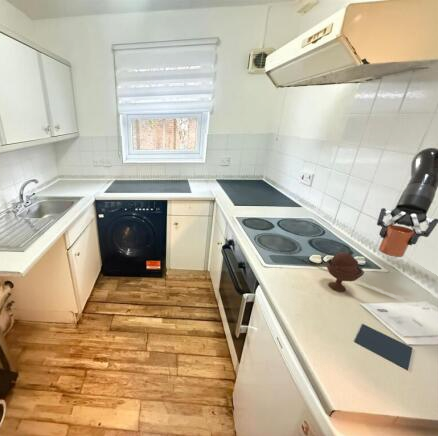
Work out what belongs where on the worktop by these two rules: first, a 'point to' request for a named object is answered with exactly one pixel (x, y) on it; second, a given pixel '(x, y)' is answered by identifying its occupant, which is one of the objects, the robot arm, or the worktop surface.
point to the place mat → (384, 346)
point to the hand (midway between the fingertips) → (396, 240)
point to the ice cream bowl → (343, 270)
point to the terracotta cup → (396, 240)
